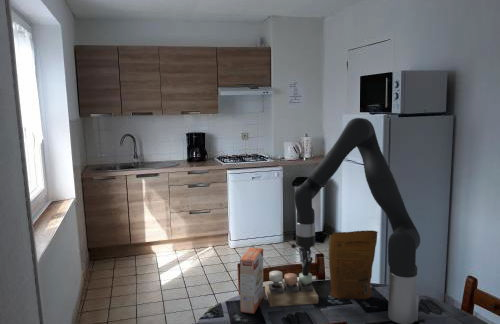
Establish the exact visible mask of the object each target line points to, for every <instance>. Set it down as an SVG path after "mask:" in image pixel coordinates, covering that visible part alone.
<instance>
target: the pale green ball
mask: <svg viewBox="0 0 500 324" xmlns="http://www.w3.org/2000/svg"><path fill="white" fill-rule="evenodd" d="M298 282H301V283H303V286H308V283H311V284H312V282H313V274H312V273H311V272H309V274H308V276H304V275H303V274H302V272H299V274H298Z"/></svg>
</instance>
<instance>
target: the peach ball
mask: <svg viewBox="0 0 500 324" xmlns="http://www.w3.org/2000/svg"><path fill="white" fill-rule="evenodd" d="M283 276H284V279H283V280H284V282H283V283H286V284H288V287H294V284H296V283H298V274H296V273H291V272H288V273H285V274H284V275H283Z"/></svg>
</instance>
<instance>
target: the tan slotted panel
mask: <svg viewBox="0 0 500 324" xmlns="http://www.w3.org/2000/svg"><path fill="white" fill-rule="evenodd" d="M264 292H265V296H266V298H267V301H268V304H269V307H284V306H285V307H286V306H287V307H288V306H295V305H296V306H299V305H311V304H319V294H318V293H317V292H316V289H315V288H314V285H313V284H312V282H311V283H308V286H303V283H301V282H299V281H297V283H296V284H294V287H288V284H286V283H285V282H279V285H278V286H274V285H273V282H272V283H268V284H265V285H264Z"/></svg>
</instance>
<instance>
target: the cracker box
mask: <svg viewBox="0 0 500 324" xmlns="http://www.w3.org/2000/svg"><path fill="white" fill-rule="evenodd" d="M239 278H240V279H239V282H240V283H239V285H240V286H239V288H240V289H239V292H240V294H239V295H240V296H239V297H240V299H239V300H240V302H239V303H240V304H239V305H240V313H245V314H253V315H254V314H255V313H256V311H257V309H259V308H258V307H259V305H260V303H261V302H262V300H263V298H264V248H262V247H249V248H248V249H247V250H246V252H245V253H244V254H242V257H241V258H240V259H239Z"/></svg>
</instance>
